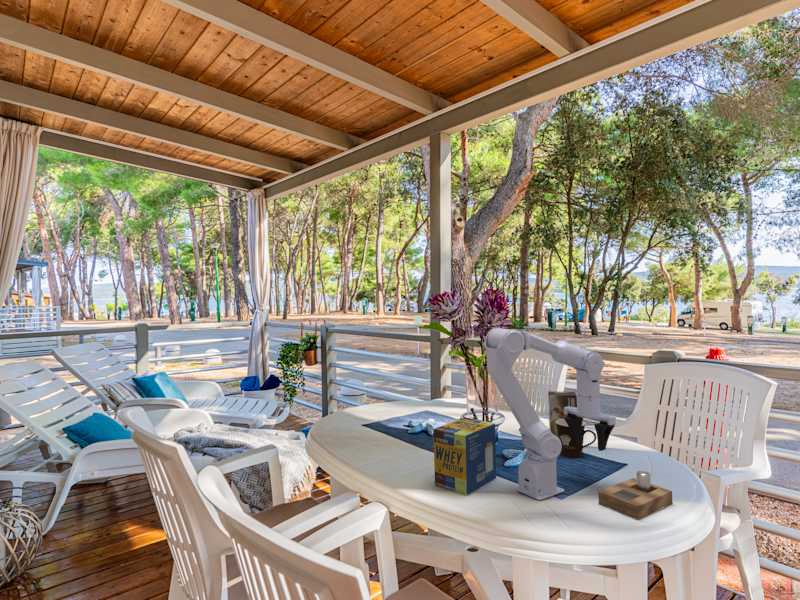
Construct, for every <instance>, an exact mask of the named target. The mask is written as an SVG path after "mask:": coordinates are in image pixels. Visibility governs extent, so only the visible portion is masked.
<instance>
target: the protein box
mask: <svg viewBox="0 0 800 600" xmlns="http://www.w3.org/2000/svg"><path fill="white" fill-rule="evenodd" d="M496 445H497V444H496V423H495V422H489V421H485V420H480V419H475V418H470V417H462V418H459V419H457V420H454V421H451V422H447V423H446V424H444V425H441V426H439V427H438V426H437V427H435V428H433V456H434V457H433V461H434V462H433V463H434V464H433V465H434V467H433V468H434V469H433V470H434V486H435V485H436V486H435V487H439V488H442V489H445V490H449V491H451V492H454V493H458V494H460V495H464V496H468V495H470V494H471V493H474V492H475V491H476V490H478V489H480V488H481V487H484V486H485V485H486V484H489V483H490V482H492V481H493V480H495V479H496V478H497V453H496V452H497V451H496Z"/></svg>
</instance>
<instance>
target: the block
mask: <svg viewBox="0 0 800 600" xmlns="http://www.w3.org/2000/svg"><path fill="white" fill-rule="evenodd" d="M597 494H598V505H600V506H602V507H603V506H604V507H606V508H608V509H611V510H613V511H615V512H618V513H620V514H623V515H626V516H628V517H631V518H632V519H634V520H635V519H636V520H640V519H642V518H645V517H647V516H649V515H651V514H654V513H655V511H656V512H657V510H658V511H659V509H660V510H662V509H664V508H666V507H668V506H670V505H669V504H671V503H672V504H673V491H672V490H669V489H667V488H663V487H661V486H658V485H655V484H652V483H651V492H649V493H645V492H642V491H639V490H637V478H633V477H632V478H630V479H627V480H623V481H622V482H619V483H616V484H614V485H611V486H609V487H605V488H603V489H601V490H599V491H598V493H597ZM672 504H671V505H672ZM667 505H668V506H667ZM665 506H666V507H665ZM663 507H664V508H663ZM661 508H662V509H661ZM653 512H654V513H653ZM644 516H645V517H644Z"/></svg>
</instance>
